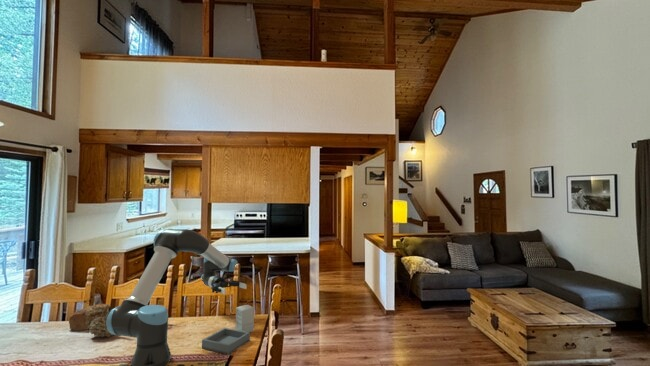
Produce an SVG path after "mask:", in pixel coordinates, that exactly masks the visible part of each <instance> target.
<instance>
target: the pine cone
mask: <svg viewBox="0 0 650 366" xmlns="http://www.w3.org/2000/svg"><path fill="white" fill-rule="evenodd" d="M106 321H107V316H106V317H105V316H103V317H97V318H96V319H94V320H93V321H92V322H91V324H90V325H89V326H90V327H89V328H88V331H89V332H88V333H90V334H91V335H93V336H95V337H100V338H101V337H102V338H105V337H106V338H109V337H111V336H112V334H111V333H110V332H109V331H108V329H107V325H106Z"/></svg>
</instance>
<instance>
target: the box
mask: <svg viewBox="0 0 650 366" xmlns="http://www.w3.org/2000/svg"><path fill="white" fill-rule="evenodd" d="M250 341H251V332H245V331H240V330H236V329H235V328H234V329H233V328H228V327H223V328H222V329H220V330H217V331H216V332H214V333H212V334H211V335H208V336H207V337H204V338H203V339H202V340H201V349H203V350H205V351H206V350H207V351H210V352H214V353H219V354H224V355H228V354H229V355H230V354H232V353H233V352H236V350H238V349H240V348H241V347H243V346H244V345H246V344H247V343H249V342H250Z"/></svg>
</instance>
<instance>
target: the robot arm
mask: <svg viewBox="0 0 650 366" xmlns="http://www.w3.org/2000/svg"><path fill="white" fill-rule="evenodd" d="M153 251H154V253H153V255H152V257H151V259H150V260H149V262H148V264H147V265H146V267H145V268H144V270H143V273H142V275H141V276H140V278H139V280H138V281H137V283H136V285H135V286H134V288H133V290H132V292H131V294H130V295H129V297H127V298H126V299H123V301H122V302H121V304H120V305H118V306H115V307H114V308H111V311H110V313H109V315H108V317H107V321H106V325H107V329H108V331H109V332H110V333H111V335H113V336H114V335H115V336H118V337H130V338H136V347H135V351H134V354H133V356H132V359H131V361H130V366H167V365H168V364H169V363H170V362H169V360H170V359H171V360H172V352H171V350H170V347H169V344H168V331H169V329H168V327H169V326H168V325H169V313H168V312H169V311H168V309H167V307H166V306H164V305H161V304H154V305H153V304H149V302H150V301H151V299H152V296H153V295H154V293H155V291H156V288H157V287H158V285H159V284H160V282H161V279H162V278H163V275H164V274H165V273H166V270H167V268H168V266H169V264H170V262H171V261H172V259H174V258H176V257H178V256H177V255H178V253H179V252H186V253H187V252H188V253H193V254H195V255H199V256H202V257H203V263H202V264H203V268H202V269H203V270H202V271H203V272H202V275H201V276H200V279H201V278H202V279H203V280H202V281H203V282H204V284H205V285H206V287H209V288H210V289H211V292H212V293H215V294H218V293H220V294H223V295H226V293H227V292H226V288H230V287H238V288H241V289H242V290H243V289H244V290H247V288H248V287H247V284H246V283H244V281H243V280H234V279H230V280H226V279H225V278H224V277H222V276H219V275H217V271H219V272H235V271H236V270H235V265H236V264H238V260H237V259H233V258H229V257H228V256H227V255H225V254H224V253H223V252H222V251H220V250H219V249H217V248H216V247H215V246H213V245H212V244H211V243H210V242H209V239H207V238H206V237H205V236H204V235H203V234H201V233H199V232H196V230H195V231H194V230H191V229H188V228H187V229H186V228H184V229H183V228H182V229H181V228H180V229H179V228H177V229H176V228H164V229H161V230H159V231H158V232H157V233H156V234H155V236H154V238H153ZM234 270H235V271H234ZM200 279H199V280H200ZM204 284H203V285H204ZM205 285H204V286H205ZM171 360H170V361H171ZM168 362H169V363H168ZM167 363H168V364H167ZM166 364H167V365H166Z"/></svg>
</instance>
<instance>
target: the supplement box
mask: <svg viewBox="0 0 650 366" xmlns="http://www.w3.org/2000/svg"><path fill="white" fill-rule="evenodd" d="M254 314H255V308H254V306H251V305H249V304H245V305H244V304H243V305H240V306H237V307H235V330H240V331H245V332H250V333H251V332H254V331H255V330H254V329H255V327H254V326H255V324H254V322H255V315H254Z"/></svg>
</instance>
